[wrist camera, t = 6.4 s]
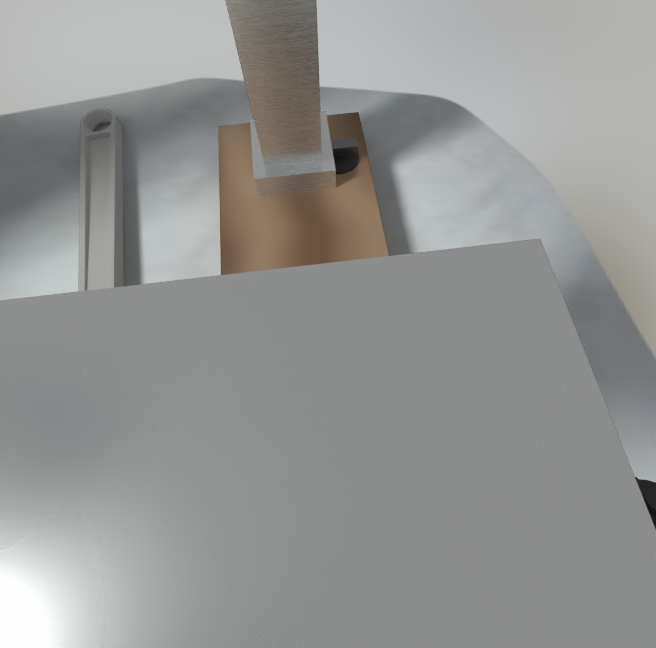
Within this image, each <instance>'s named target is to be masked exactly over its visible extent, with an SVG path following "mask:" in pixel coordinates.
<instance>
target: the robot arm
mask: <svg viewBox="0 0 656 648" xmlns="http://www.w3.org/2000/svg"><path fill="white" fill-rule="evenodd" d="M635 479H636V481H637V484H638V486H639V489H640V491H641V494H642V496H643V499H644V501H645V504H646V506H647V509H648V512H649V514H650V517H651V519H652V522H653V524H654V527H655V529H656V483H655V482H652V481H648V480H639V479H638V478H637V477H635Z"/></svg>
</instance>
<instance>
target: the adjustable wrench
mask: <svg viewBox="0 0 656 648" xmlns="http://www.w3.org/2000/svg"><path fill="white" fill-rule="evenodd" d="M103 124H110V125H109V126H108V127H107V128H105V129H103V130H101V131H95V130H96V129H97V128H98V127H99V126H101V125H103ZM94 131H95V132H94ZM123 286H124V220H123V129H122V125H121V124H120V122H119V121H118V119H117V118H116V116H115V115H114V113H113V112H112V111H110V110H108V109H97V110H93V111H91V112H89V113H87V114H86V115H85V116H84V117H83V118H82V120H81V123H80V196H79V278H78V292H79V291H88V290H97V289H105V288H114V287H123Z"/></svg>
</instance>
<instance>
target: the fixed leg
mask: <svg viewBox="0 0 656 648" xmlns="http://www.w3.org/2000/svg"><path fill="white" fill-rule="evenodd" d="M225 1H226V5H227V9H228V13H229V17H230V22H231V26H232V30H233V34H234V38H235V43H236V47H237V51H238V55H239V60H240V64H241V68H242V72H243V76H244V81H245V85H246V89H247V93H248V98H249V102H250V106H251V110H252V114H253V119H250V128H251V144H252V161H253V177H254V182H255V186H256V189H257V192H258V196H267V195H276V194H285V193H295V192H304V191H313V190H322V189H332V188H336V169H335V163H334V157H333V156H342V155H352V154H358V142H357V138H354V139H344V140H334V141H331V139H330V133H329V127H328V121H327V115H326V111H325V112H320V90H319V64H318V63H319V62H318V37H317V36H318V34H317V8H316V0H225Z"/></svg>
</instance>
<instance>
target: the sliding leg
mask: <svg viewBox="0 0 656 648" xmlns="http://www.w3.org/2000/svg"><path fill="white" fill-rule="evenodd" d="M0 648H656V529H655V527H654V524H653V522H652V519H651V517H650V514H649V512H648V509H647V506H646V504H645V501H644V499H643V496H642V494H641V491H640V489H639V486H638V484H637V481H636V479H635V476H634V474H633V471H632V469H631V466H630V464H629V461H628V459H627V456H626V454H625V451H624V449H623V446H622V444H621V441H620V438H619V436H618V433H617V431H616V428H615V426H614V423H613V421H612V418H611V416H610V413H609V411H608V408H607V406H606V403H605V401H604V398H603V396H602V393H601V391H600V388H599V386H598V383H597V381H596V378H595V376H594V373H593V370H592V368H591V365H590V363H589V360H588V358H587V355H586V353H585V350H584V348H583V345H582V343H581V340H580V338H579V335H578V333H577V330H576V328H575V325H574V323H573V320H572V318H571V315H570V313H569V310H568V308H567V305H566V302H565V300H564V297H563V295H562V292H561V290H560V287H559V285H558V282H557V280H556V277H555V275H554V272H553V270H552V267H551V265H550V262H549V260H548V257H547V255H546V252H545V250H544V247H543V245H542V242H541V240H540V239H533V240H524V241H515V242H507V243H498V244H489V245H480V246H472V247H463V248H454V249H446V250H437V251H428V252H419V253H411V254H402V255H393V256H385V257H376V258H367V259H358V260H350V261H341V262H332V263H323V264H315V265H306V266H297V267H289V268H280V269H271V270H262V271H254V272H245V273H236V274H228V275H219V276H210V277H201V278H193V279H184V280H175V281H167V282H158V283H149V284H140V285H132V286H123V287H114V288H105V289H97V290H88V291H79V292H71V293H62V294H53V295H44V296H36V297H27V298H18V299H10V300H1V301H0Z"/></svg>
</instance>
